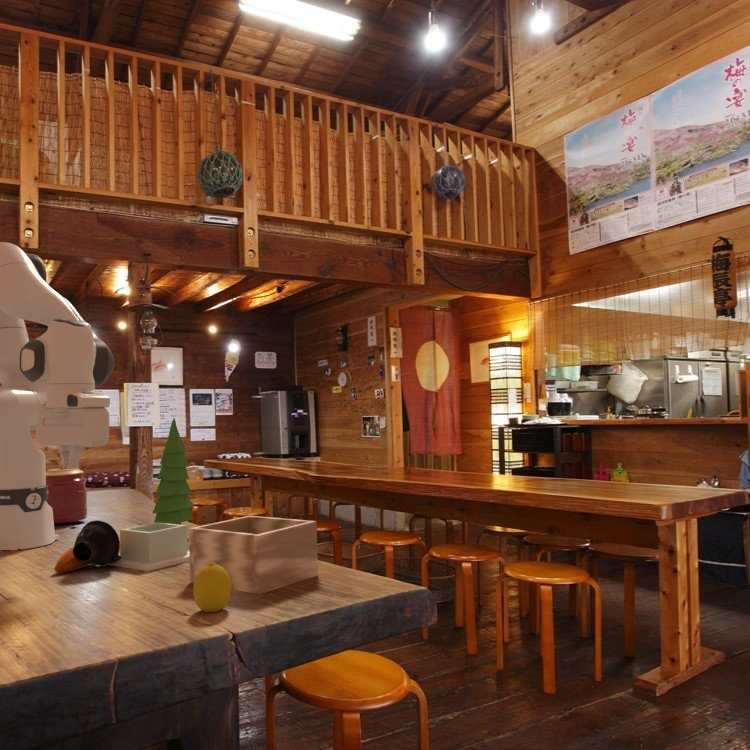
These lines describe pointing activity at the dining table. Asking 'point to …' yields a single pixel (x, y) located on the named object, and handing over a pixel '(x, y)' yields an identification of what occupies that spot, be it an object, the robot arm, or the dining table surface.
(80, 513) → the canister
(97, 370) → the robot arm
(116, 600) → the dining table surface
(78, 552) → the bowl of food
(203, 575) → the lemon
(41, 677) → the dining table surface
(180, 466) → the decorative tree
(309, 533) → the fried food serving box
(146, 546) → the open rectangular box
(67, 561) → the carrot
